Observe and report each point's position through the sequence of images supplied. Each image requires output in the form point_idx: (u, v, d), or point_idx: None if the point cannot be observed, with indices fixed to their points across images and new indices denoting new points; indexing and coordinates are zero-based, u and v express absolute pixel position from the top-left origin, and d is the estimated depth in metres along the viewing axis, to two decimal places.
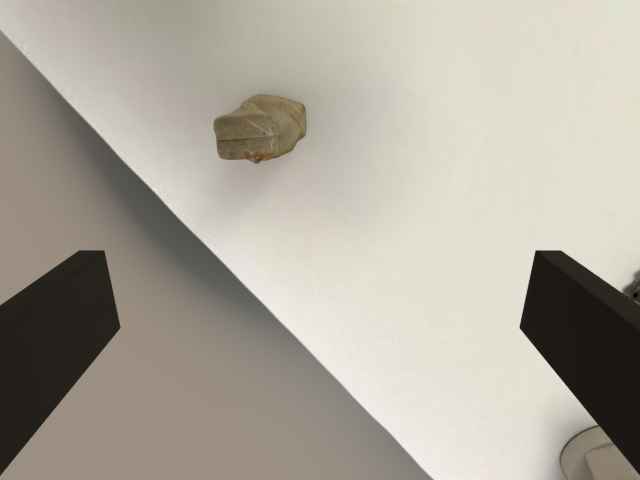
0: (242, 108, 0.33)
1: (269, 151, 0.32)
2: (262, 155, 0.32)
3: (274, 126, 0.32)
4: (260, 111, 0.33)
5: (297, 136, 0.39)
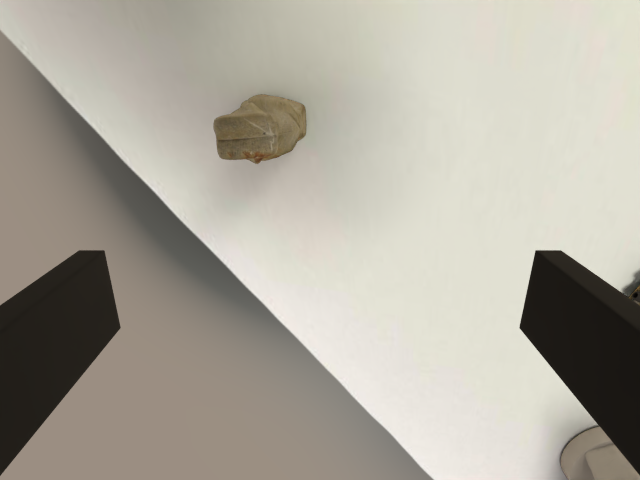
0: (242, 108, 0.33)
1: (269, 151, 0.32)
2: (262, 155, 0.32)
3: (274, 126, 0.32)
4: (260, 111, 0.33)
5: (297, 136, 0.39)
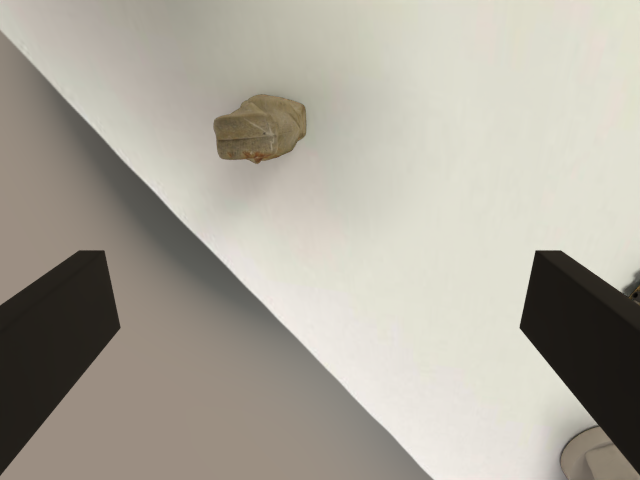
0: (242, 108, 0.33)
1: (269, 151, 0.32)
2: (262, 155, 0.32)
3: (274, 126, 0.32)
4: (260, 111, 0.33)
5: (297, 136, 0.39)
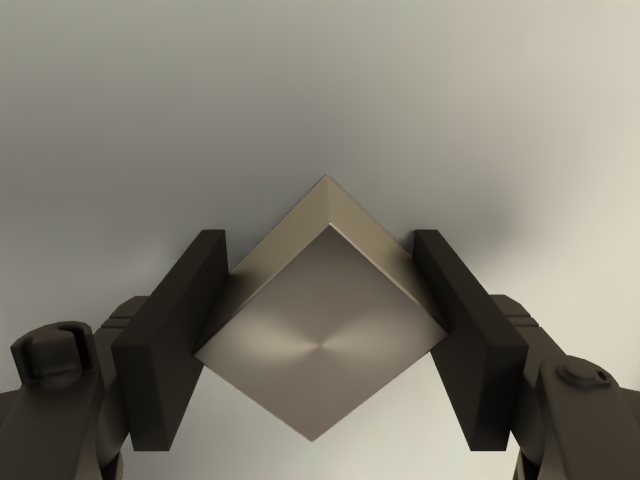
0: None
1: None
2: None
3: None
4: None
5: None
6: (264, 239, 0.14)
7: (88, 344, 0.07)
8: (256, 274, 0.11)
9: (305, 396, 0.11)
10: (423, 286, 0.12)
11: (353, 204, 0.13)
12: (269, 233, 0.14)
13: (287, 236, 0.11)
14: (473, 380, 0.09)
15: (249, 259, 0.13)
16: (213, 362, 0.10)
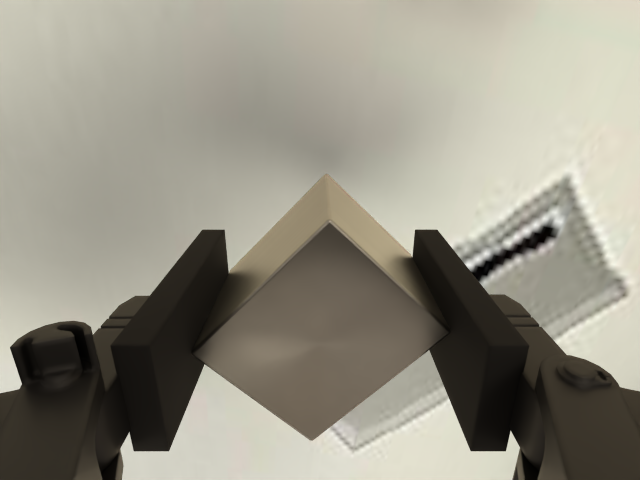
0: None
1: None
2: None
3: None
4: None
5: None
6: (264, 238, 0.14)
7: (88, 344, 0.07)
8: (256, 273, 0.11)
9: (305, 395, 0.11)
10: (423, 285, 0.12)
11: (353, 203, 0.13)
12: (269, 232, 0.14)
13: (287, 235, 0.11)
14: (473, 380, 0.09)
15: (249, 258, 0.13)
16: (213, 361, 0.10)
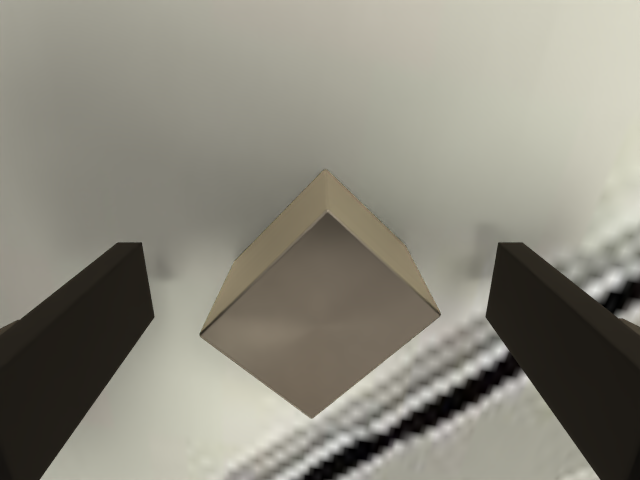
0: None
1: None
2: None
3: None
4: None
5: None
6: (266, 230, 0.14)
7: None
8: (259, 260, 0.11)
9: (305, 375, 0.11)
10: (416, 273, 0.12)
11: (350, 196, 0.14)
12: (271, 224, 0.14)
13: (288, 225, 0.12)
14: (623, 424, 0.07)
15: (252, 249, 0.14)
16: (219, 342, 0.11)
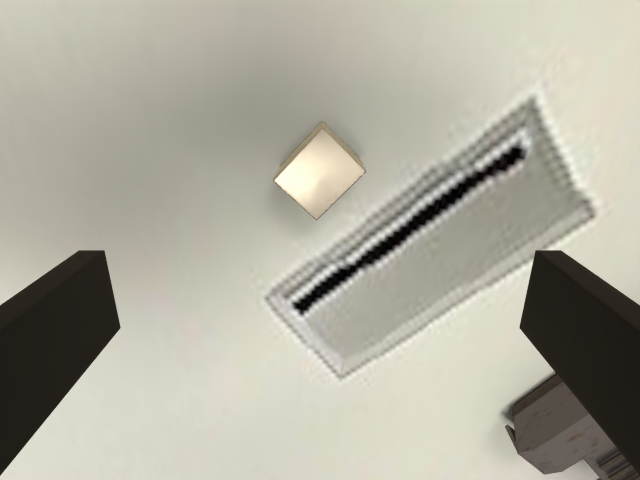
0: None
1: None
2: None
3: None
4: None
5: None
6: (295, 150, 0.32)
7: None
8: (295, 153, 0.29)
9: (314, 198, 0.29)
10: (360, 162, 0.30)
11: (333, 132, 0.31)
12: None
13: (307, 140, 0.29)
14: None
15: (289, 157, 0.31)
16: (281, 183, 0.28)
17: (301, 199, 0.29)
